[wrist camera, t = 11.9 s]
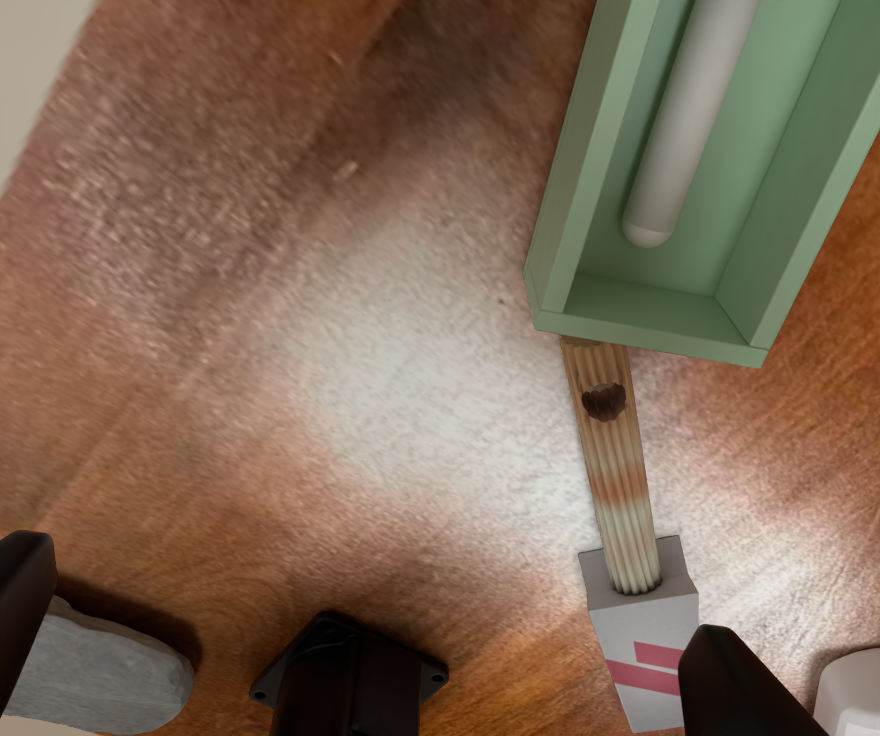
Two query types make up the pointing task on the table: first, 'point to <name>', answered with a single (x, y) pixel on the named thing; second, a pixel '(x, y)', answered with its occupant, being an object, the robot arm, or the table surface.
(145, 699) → the stone
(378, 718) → the robot arm
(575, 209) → the bin
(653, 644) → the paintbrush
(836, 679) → the eye dropper bottle
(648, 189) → the rod with rounded ends
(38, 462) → the table surface
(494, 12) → the table surface
